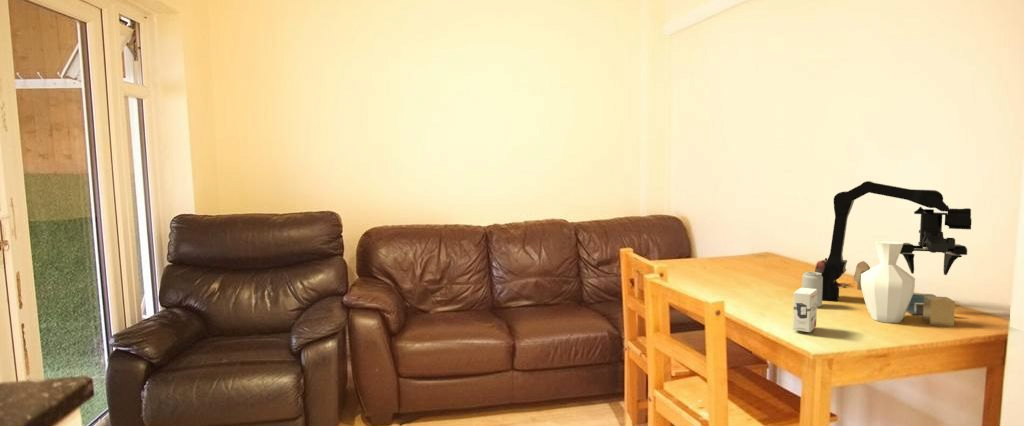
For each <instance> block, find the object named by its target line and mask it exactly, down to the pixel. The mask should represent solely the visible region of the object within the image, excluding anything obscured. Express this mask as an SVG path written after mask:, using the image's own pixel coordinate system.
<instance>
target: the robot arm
mask: <svg viewBox="0 0 1024 426" xmlns="http://www.w3.org/2000/svg"><path fill="white" fill-rule="evenodd" d="M869 193H870V194H874V195H879V196H880V195H881V196H886V197H890V198H895V199H900V200H906V201H909V202H911V203H915V204H917V205H920V206H919V207H918V209H916V210H915V211H914V212H913V213H914V215H920V224H919V225H920V226H919V230H918V233H919V241H918V243H917V244H918V245H914V244H912V243H909V242H903V243H904V244H903V246H902V249H901V252H900V254H899V255H902V256H903V258H904V259H905V261H906V263H907V266H908V269H909V272H910V273H911V275H914V274H915V262H914V261H915V260H914V259H915V253H913V252H929V253H932V254H935V253H941V254H944V255H943V276H947V275H948V273H949V271H950V269H951V268H952V265H953V264H954V262H955V261H956V260H957V259H958V258H962V257H963V256H967V255H968V247H967V246H965V245H963V244H959V243H957V244H956V239H955V237H946V238H945V237H944V232H943V229H942V228H943V216H944V226H947V227H948V229H951V230H972V209H971V208H969V207H968V208H967V207H966V208H965V207H964V208H950V207H949V204H948V205H947V203H945V201H944V195H943V194H942V193H941V192H940V191H939V190H936V189H916V188H915V189H912V188H911V189H910V188H905V187H899V186H895V185H889V184H884V183H878V182H874V181H871V180H868V181H863V182H862V183H861V184H859V185H857V186H855V187H854V188H852V189H849V190H848V191H841V192H838V193H836V194H835V195H834V196H833V210H834V222H833V229H832V230H833V231H832V237H831V243H830V253H829V255H828V257H827V262H826V265H825V268H824V271H823V273H821V274H822V277H823V289H822V301H839V298H840V286H838V283H839V282H838V279H840V278H841V277H842V275H843V274H844V273H846V272H847V269H846V266H847V262H848V260H847V259H844V257H843V253H844V245H845V240H846V239H845V238H846V232H847V231H846V230H847V225H848V219H849V215H850V213H851V211H852V209H853V205H854V202H855V201H856V200H858V199H859V198H861V197H863V196H865V195H866V194H869ZM923 207H926V208H927V209H926V208H923ZM934 209H936V210H938V211H939V212H937V211H936V212H935V210H934ZM835 281H837V282H838V283H837V282H835Z"/></svg>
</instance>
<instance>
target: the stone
mask: <svg viewBox="0 0 1024 426" xmlns="http://www.w3.org/2000/svg"><path fill="white" fill-rule="evenodd" d="M869 269H871V266H870V265H869V264H868V262H866V261H860V262H858V263H857V264H856V267H855V272H854V275H853V281H854V282H856V283H857V287H856V290H858V291H862V288H861V274H862V273H864V272H866V271H868V270H869Z"/></svg>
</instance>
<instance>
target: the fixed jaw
mask: <svg viewBox="0 0 1024 426" xmlns="http://www.w3.org/2000/svg"><path fill="white" fill-rule="evenodd" d="M923 306H924V303H914V313H916V314H923Z"/></svg>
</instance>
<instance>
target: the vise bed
mask: <svg viewBox="0 0 1024 426" xmlns="http://www.w3.org/2000/svg"><path fill="white" fill-rule="evenodd" d="M906 313H908V314H910V315H911V316H913V317H916V316H917V317H923V314H916V313H914V304H909V305H908V308H907V310H906Z"/></svg>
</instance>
